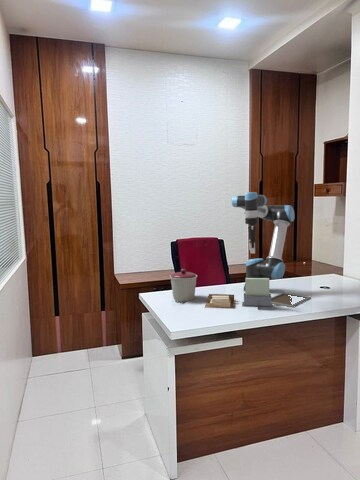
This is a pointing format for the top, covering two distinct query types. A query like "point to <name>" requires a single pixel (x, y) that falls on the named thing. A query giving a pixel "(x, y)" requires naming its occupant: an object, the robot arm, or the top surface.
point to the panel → (257, 286)
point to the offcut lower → (220, 304)
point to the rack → (231, 297)
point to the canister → (183, 285)
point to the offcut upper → (220, 299)
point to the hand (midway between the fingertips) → (251, 251)
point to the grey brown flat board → (286, 299)
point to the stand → (258, 302)
